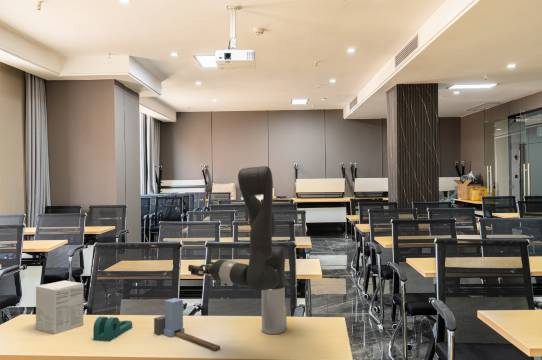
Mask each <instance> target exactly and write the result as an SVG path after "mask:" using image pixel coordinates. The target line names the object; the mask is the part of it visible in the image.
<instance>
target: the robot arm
mask: <svg viewBox="0 0 542 360" xmlns="http://www.w3.org/2000/svg"><path fill="white" fill-rule="evenodd" d="M273 181H274V178H273V173H272V170H271V168H270V167H269V166H267V165H266V166H265V165H264V166H253V167H251V166H250V167H244V168H241V169H240V170H239V171H238V174H237V183H238V186H239V191H240V193H241V196H242V200H243V202H244V205H245V208H246V211H247V217H248V222H249V226H250V232H249V247H250V256H249V259H248V264H246V263H241V262H239V261H238V262H237V261H233V260H228V259H221V258H220V259H217V260H216V261H207V262H206V263H207V264H200V265H195V264H194V265H193V264H189V265H188V268H187V270H188V271H189V273H190V275H193V276H197V277H205V276H208V277H212V278H213V279H214V280H215V282H220V283H223V284H230V285H236V286H237V285H238V286H243V287H249V288H250V289H251V290H253V291H254V292H258V291H259V292H260V291H261V331H262V332H263V333H264V334H268V335H279V334H282V333H284V332H286V330H287V328H288V327H287V325H288V323H287V305H286V304H285V303H286V301H285V300H286V294H285V291H286V289H285V287H286V286H285V285H286V284H285V281H286V280H285V269H286V268H285V267H286V252H285V251H286V250H285V248H284V247H283V246H281V245H279V246H278V245H277V246H276V245H275V246H274V245H273V236H274V234H275V232H276V230H277V224H276V219H275V218H276V217H275V215H274V212H273V199H274V197H273V194H274V182H273ZM259 195H260V196H261V195H262V196H263V197H262V201H261V200H259V199H258V197H257V196H259Z"/></svg>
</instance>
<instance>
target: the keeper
mask: <svg viewBox="0 0 542 360" xmlns="http://www.w3.org/2000/svg"><path fill="white" fill-rule="evenodd" d="M164 316H165V329H163V334H162V335H164V336H166V337H169V338H174V337H175V336H174V331H176V330H178V331H181V332H183V333H185V327H184V300H183V299H180V298H177V297H175V298H174V297H173V298H170V299H165V300H164Z"/></svg>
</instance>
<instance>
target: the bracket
mask: <svg viewBox="0 0 542 360" xmlns="http://www.w3.org/2000/svg"><path fill="white" fill-rule="evenodd" d="M131 329H133V321H131V320H120V319H119V317H111V316H110V317H107V316H98V317H97V318H96V320H95V321H94V323H93V330H92V331H93V332H92V335H93V341H97V342H111V341H113V340H115V339H116V338H118V337H120V336H121V335H123V334H125V333H126V332H128V331H130V330H131Z"/></svg>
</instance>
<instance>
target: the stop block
mask: <svg viewBox="0 0 542 360" xmlns="http://www.w3.org/2000/svg"><path fill="white" fill-rule="evenodd" d="M153 321H154V322H153V326H154V327H153V329H154V330H153V334H154V335H157V336H161V335H164V334H163V329H165V315H162V316H157V317H154V318H153Z"/></svg>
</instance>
